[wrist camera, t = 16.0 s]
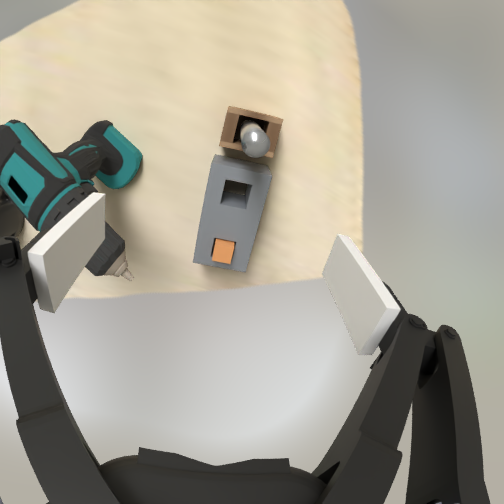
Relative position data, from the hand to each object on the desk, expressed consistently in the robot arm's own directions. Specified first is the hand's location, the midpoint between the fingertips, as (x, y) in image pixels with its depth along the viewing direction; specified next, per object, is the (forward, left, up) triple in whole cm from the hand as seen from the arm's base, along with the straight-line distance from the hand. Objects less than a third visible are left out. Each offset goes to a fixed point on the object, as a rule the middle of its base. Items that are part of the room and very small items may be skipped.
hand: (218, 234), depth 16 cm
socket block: (+2, -10, -35) cm, 36 cm away
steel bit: (+2, +3, -35) cm, 35 cm away
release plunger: (+2, -16, -34) cm, 38 cm away
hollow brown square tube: (+2, +3, -35) cm, 35 cm away
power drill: (-19, -6, -35) cm, 40 cm away
